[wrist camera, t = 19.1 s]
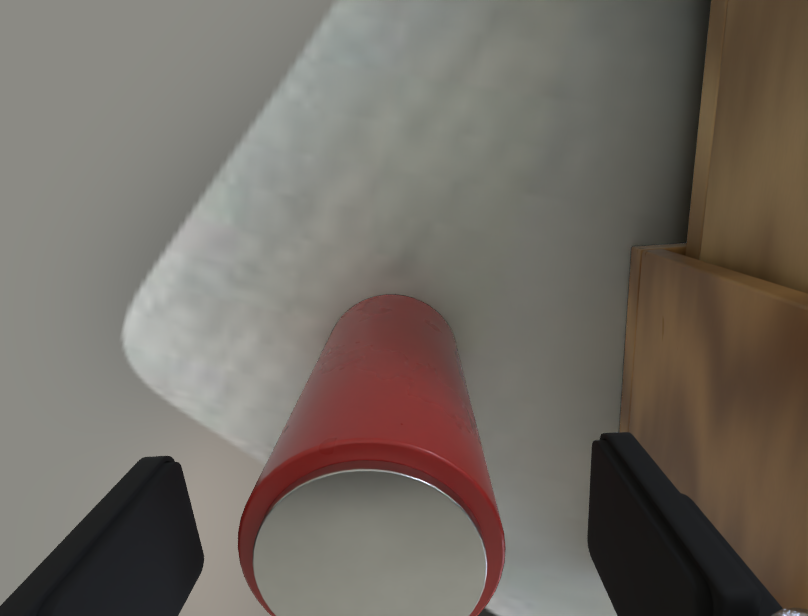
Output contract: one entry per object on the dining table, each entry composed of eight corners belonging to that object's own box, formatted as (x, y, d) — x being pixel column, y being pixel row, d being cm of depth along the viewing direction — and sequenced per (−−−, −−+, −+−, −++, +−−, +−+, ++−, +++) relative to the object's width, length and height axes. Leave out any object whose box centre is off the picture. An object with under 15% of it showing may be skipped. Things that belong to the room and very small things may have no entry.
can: (319, 298, 18) (204, 458, 8) (453, 289, 18) (508, 441, 8) (335, 417, 19) (255, 677, 9) (459, 410, 19) (511, 667, 9)
